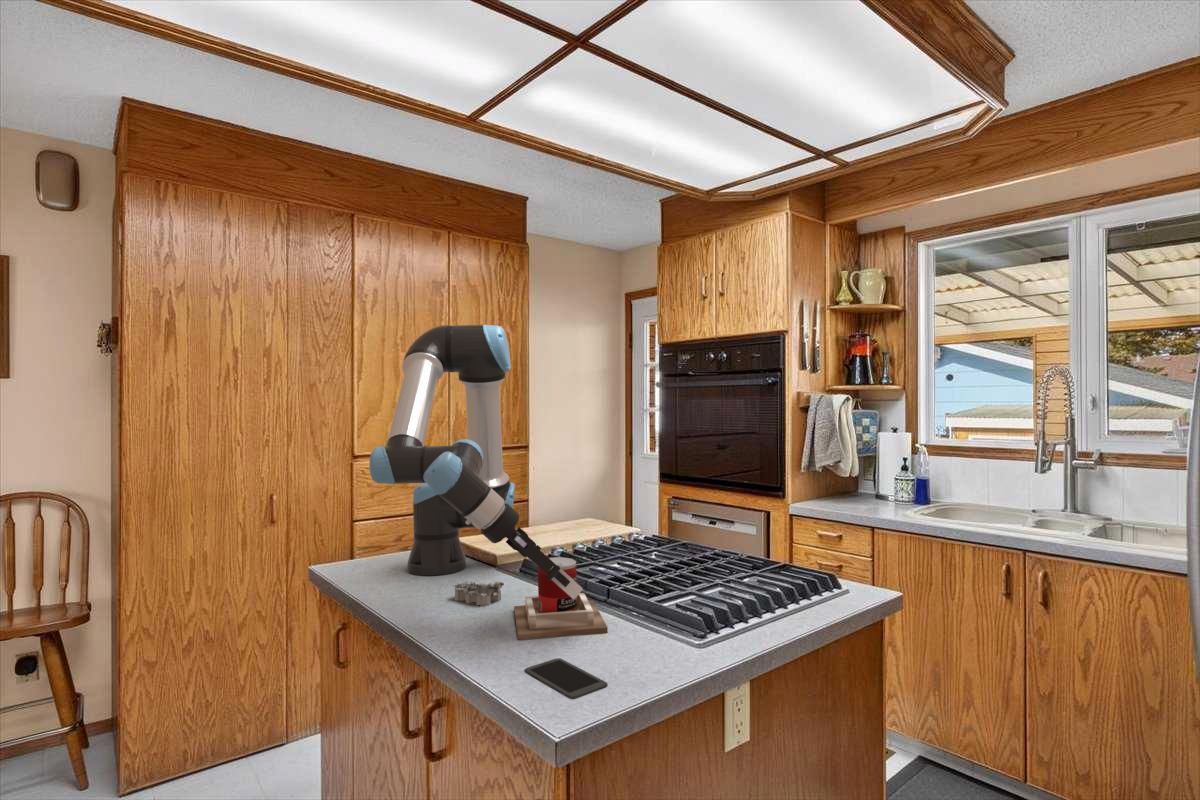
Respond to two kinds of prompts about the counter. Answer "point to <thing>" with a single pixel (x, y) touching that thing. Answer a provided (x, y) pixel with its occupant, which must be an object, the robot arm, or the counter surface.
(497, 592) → the egg carton
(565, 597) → the canned food
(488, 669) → the counter surface
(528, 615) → the socket board
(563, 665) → the cell phone
